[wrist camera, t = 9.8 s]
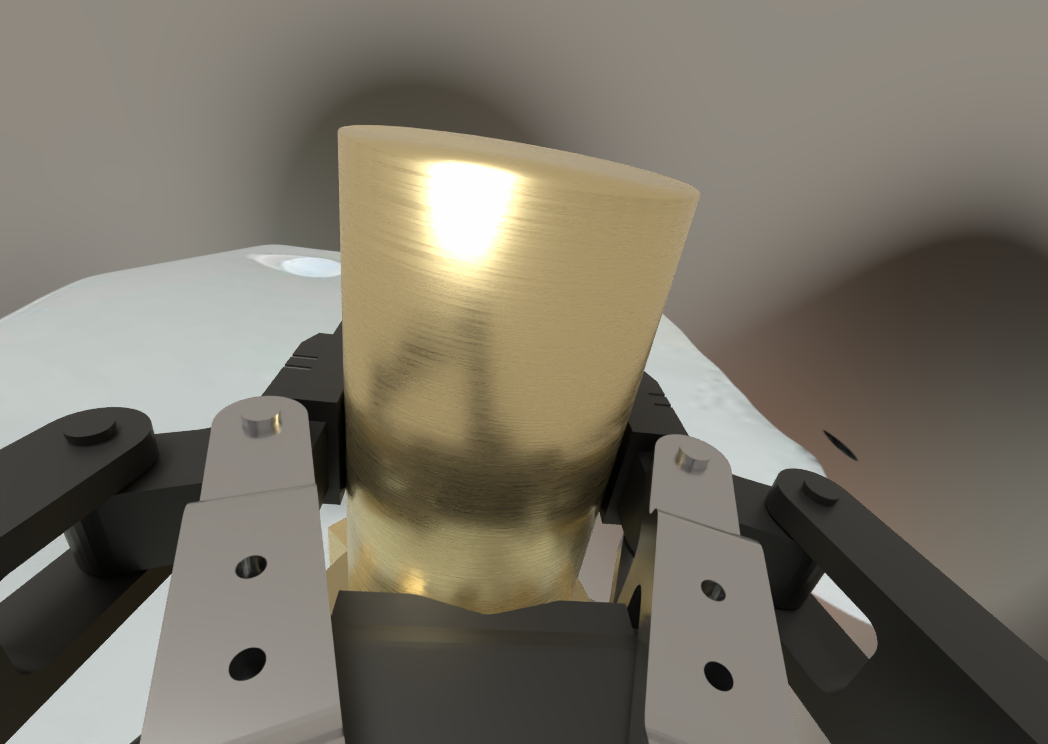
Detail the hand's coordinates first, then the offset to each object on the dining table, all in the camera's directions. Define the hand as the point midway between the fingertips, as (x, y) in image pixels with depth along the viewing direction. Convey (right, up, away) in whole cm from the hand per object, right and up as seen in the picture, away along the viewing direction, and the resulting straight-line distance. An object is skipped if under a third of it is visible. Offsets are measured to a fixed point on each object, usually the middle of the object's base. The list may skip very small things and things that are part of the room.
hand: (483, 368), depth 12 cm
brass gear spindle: (-1, -8, +2) cm, 8 cm away
